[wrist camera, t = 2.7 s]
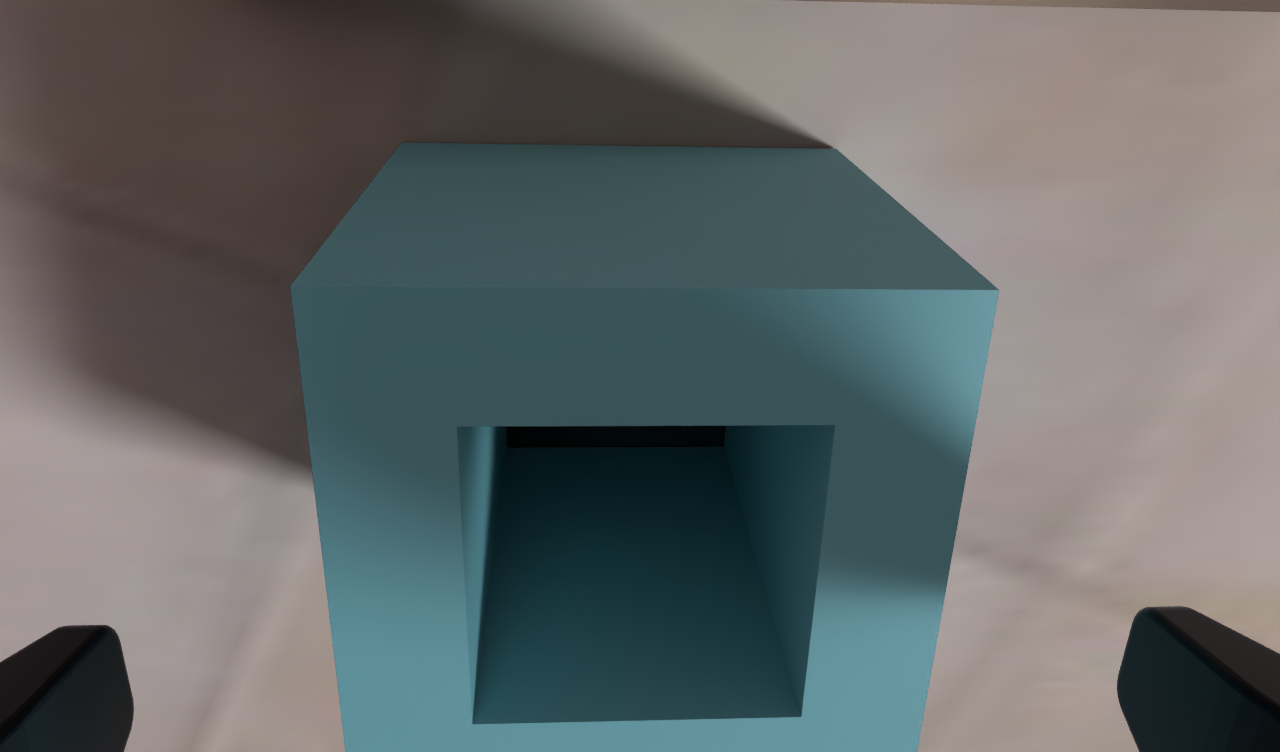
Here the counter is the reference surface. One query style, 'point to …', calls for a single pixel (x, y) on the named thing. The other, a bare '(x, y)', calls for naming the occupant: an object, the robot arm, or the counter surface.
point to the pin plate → (1112, 3)
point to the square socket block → (636, 449)
